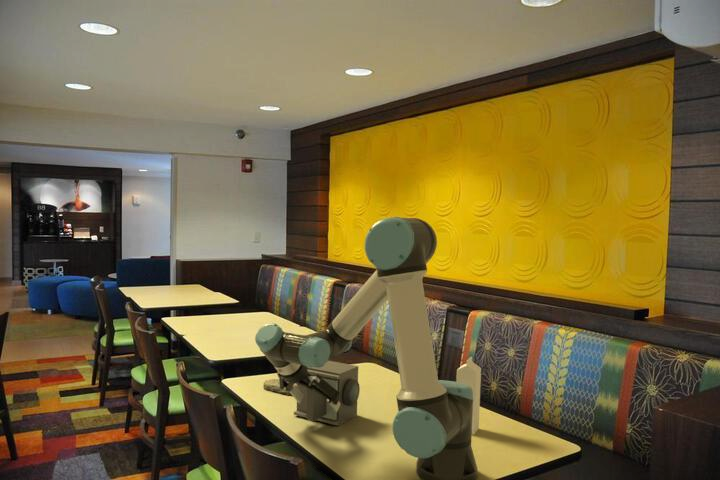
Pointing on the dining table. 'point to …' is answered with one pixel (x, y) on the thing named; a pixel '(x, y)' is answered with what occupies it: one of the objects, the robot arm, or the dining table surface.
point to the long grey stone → (275, 386)
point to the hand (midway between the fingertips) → (319, 403)
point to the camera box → (346, 389)
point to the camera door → (320, 403)
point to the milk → (472, 378)
